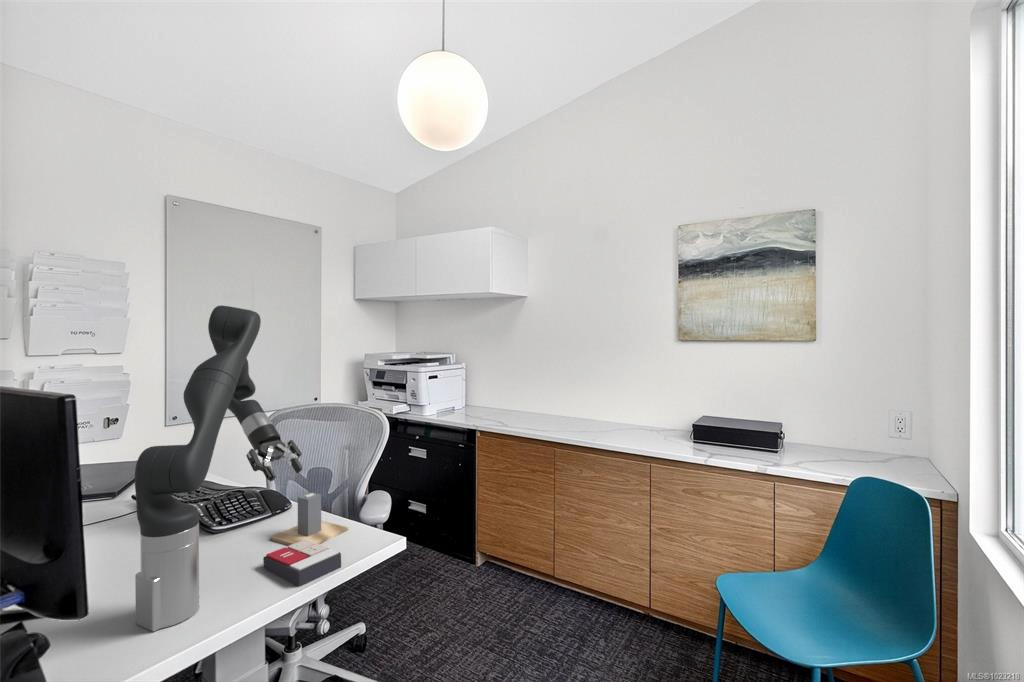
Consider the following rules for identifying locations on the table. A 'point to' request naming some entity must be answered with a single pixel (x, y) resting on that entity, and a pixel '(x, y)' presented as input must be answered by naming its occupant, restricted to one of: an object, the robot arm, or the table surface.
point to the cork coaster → (325, 534)
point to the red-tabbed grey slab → (302, 562)
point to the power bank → (309, 514)
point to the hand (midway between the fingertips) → (287, 475)
